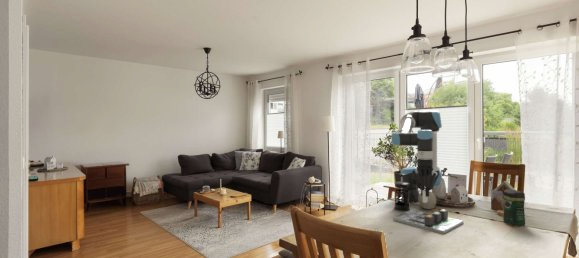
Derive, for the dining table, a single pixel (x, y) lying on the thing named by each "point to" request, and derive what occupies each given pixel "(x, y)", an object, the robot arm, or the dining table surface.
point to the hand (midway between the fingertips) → (425, 202)
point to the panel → (418, 220)
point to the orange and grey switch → (429, 220)
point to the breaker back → (444, 214)
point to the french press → (403, 204)
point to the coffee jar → (514, 207)
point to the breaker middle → (437, 216)
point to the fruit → (430, 203)
